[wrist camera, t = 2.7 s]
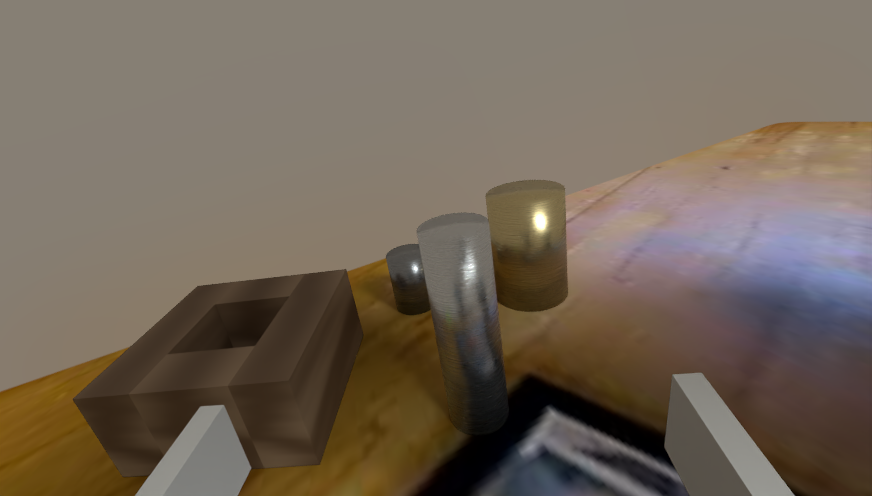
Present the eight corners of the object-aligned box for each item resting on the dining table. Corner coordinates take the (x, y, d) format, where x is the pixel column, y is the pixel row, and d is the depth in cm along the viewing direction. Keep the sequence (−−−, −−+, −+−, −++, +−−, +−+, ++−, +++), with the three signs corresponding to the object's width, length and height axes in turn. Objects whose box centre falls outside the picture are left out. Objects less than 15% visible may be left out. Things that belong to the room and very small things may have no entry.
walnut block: (363, 334, 35) (346, 269, 32) (319, 464, 24) (288, 380, 22) (224, 348, 36) (197, 286, 34) (123, 477, 25) (72, 399, 23)
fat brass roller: (559, 271, 39) (556, 176, 36) (575, 307, 34) (573, 198, 30) (493, 278, 40) (483, 185, 36) (499, 314, 35) (487, 209, 31)
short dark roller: (437, 291, 39) (428, 242, 37) (435, 312, 36) (425, 259, 34) (399, 295, 40) (389, 246, 38) (394, 316, 37) (382, 264, 35)
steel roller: (505, 388, 27) (486, 209, 22) (512, 433, 24) (491, 236, 19) (450, 392, 27) (419, 217, 23) (449, 437, 24) (413, 244, 19)
